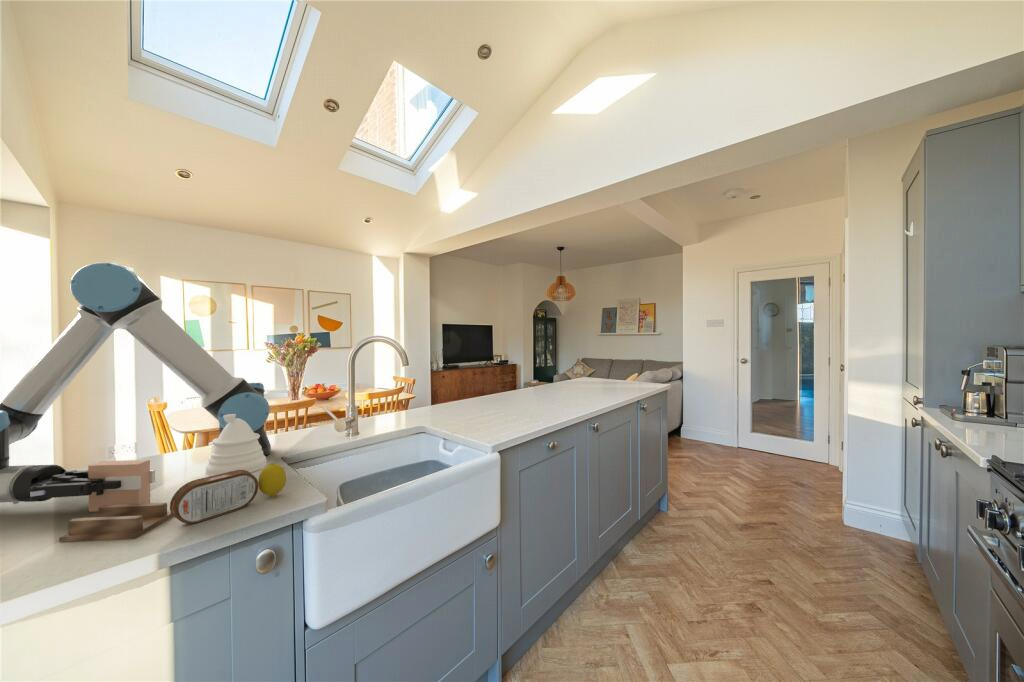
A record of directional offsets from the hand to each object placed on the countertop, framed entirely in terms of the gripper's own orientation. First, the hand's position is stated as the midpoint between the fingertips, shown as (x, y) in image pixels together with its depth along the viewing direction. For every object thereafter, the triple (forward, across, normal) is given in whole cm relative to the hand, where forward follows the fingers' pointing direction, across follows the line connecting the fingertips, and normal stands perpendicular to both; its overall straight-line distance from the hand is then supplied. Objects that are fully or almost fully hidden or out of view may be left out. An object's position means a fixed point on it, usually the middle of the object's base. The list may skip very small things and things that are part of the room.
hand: (146, 479), depth 85 cm
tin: (+19, +6, -6) cm, 20 cm away
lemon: (+25, -3, -6) cm, 26 cm away
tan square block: (-5, 0, -6) cm, 8 cm away
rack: (+3, +10, -6) cm, 12 cm away
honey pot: (+11, -13, -6) cm, 18 cm away
